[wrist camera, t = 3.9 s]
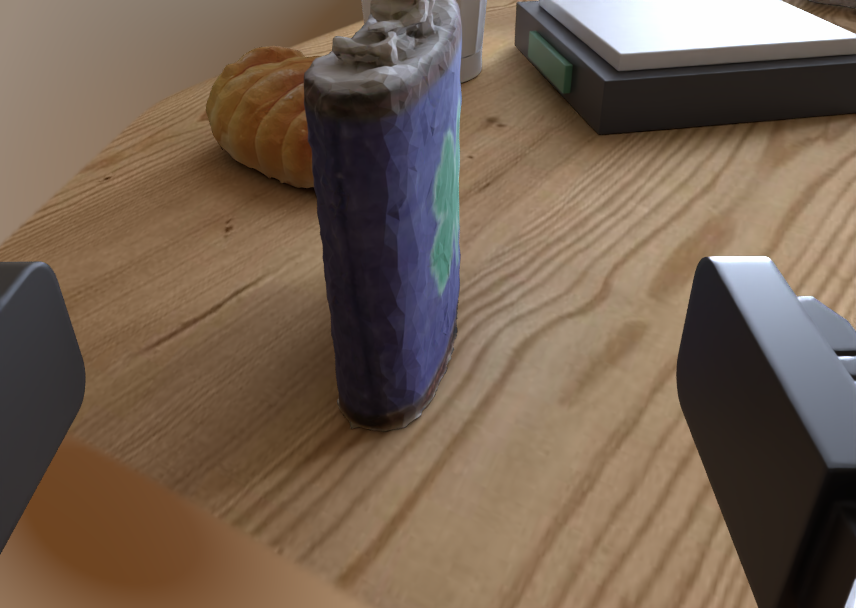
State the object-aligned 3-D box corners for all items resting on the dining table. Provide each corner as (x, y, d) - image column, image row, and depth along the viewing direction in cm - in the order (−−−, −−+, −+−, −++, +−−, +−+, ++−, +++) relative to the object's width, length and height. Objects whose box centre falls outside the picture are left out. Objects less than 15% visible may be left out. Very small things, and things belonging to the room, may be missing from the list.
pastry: (442, 171, 33) (441, 80, 31) (302, 221, 30) (290, 124, 28) (322, 107, 39) (314, 28, 37) (194, 144, 36) (178, 59, 34)
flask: (391, 248, 28) (379, -88, 22) (474, 254, 28) (485, -86, 22) (321, 428, 21) (273, -5, 15) (433, 441, 20) (433, 1, 14)
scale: (590, 136, 36) (598, 63, 34) (507, 45, 48) (510, -13, 46) (875, 111, 38) (897, 42, 37) (731, 30, 50) (743, -26, 48)
